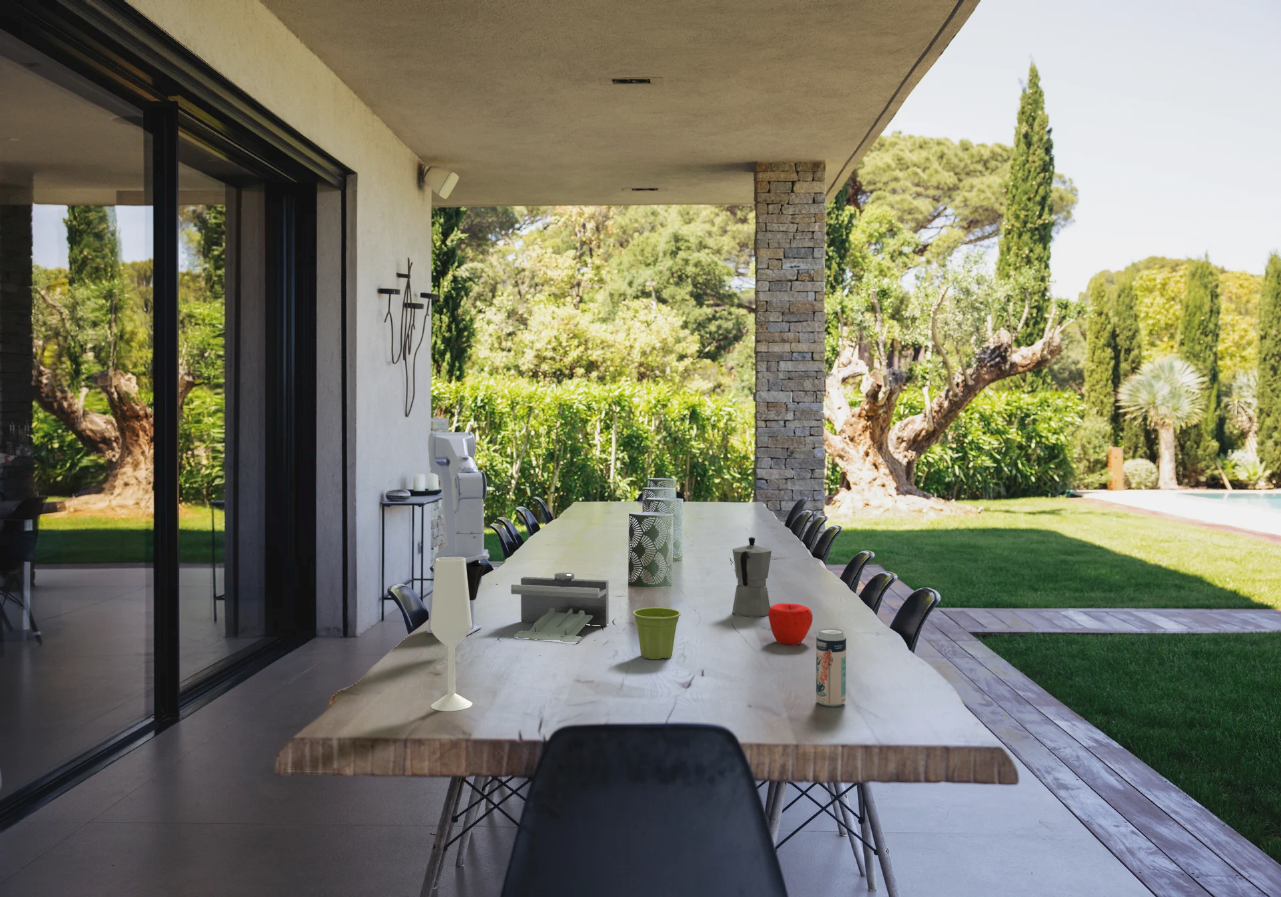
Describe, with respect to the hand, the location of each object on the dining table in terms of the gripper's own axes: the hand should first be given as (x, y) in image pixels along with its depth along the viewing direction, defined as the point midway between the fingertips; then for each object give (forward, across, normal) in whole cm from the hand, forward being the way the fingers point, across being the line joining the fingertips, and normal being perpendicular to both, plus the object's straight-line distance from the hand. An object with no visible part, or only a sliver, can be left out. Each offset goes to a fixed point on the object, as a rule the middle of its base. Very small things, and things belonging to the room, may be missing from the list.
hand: (469, 599), depth 205 cm
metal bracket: (+11, +16, -13) cm, 23 cm away
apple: (+10, +21, -62) cm, 66 cm away
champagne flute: (+10, -37, -13) cm, 40 cm away
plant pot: (+10, +3, -38) cm, 39 cm away
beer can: (+10, -21, -73) cm, 77 cm away
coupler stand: (+10, +24, -11) cm, 28 cm away
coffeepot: (+10, +48, -50) cm, 70 cm away
